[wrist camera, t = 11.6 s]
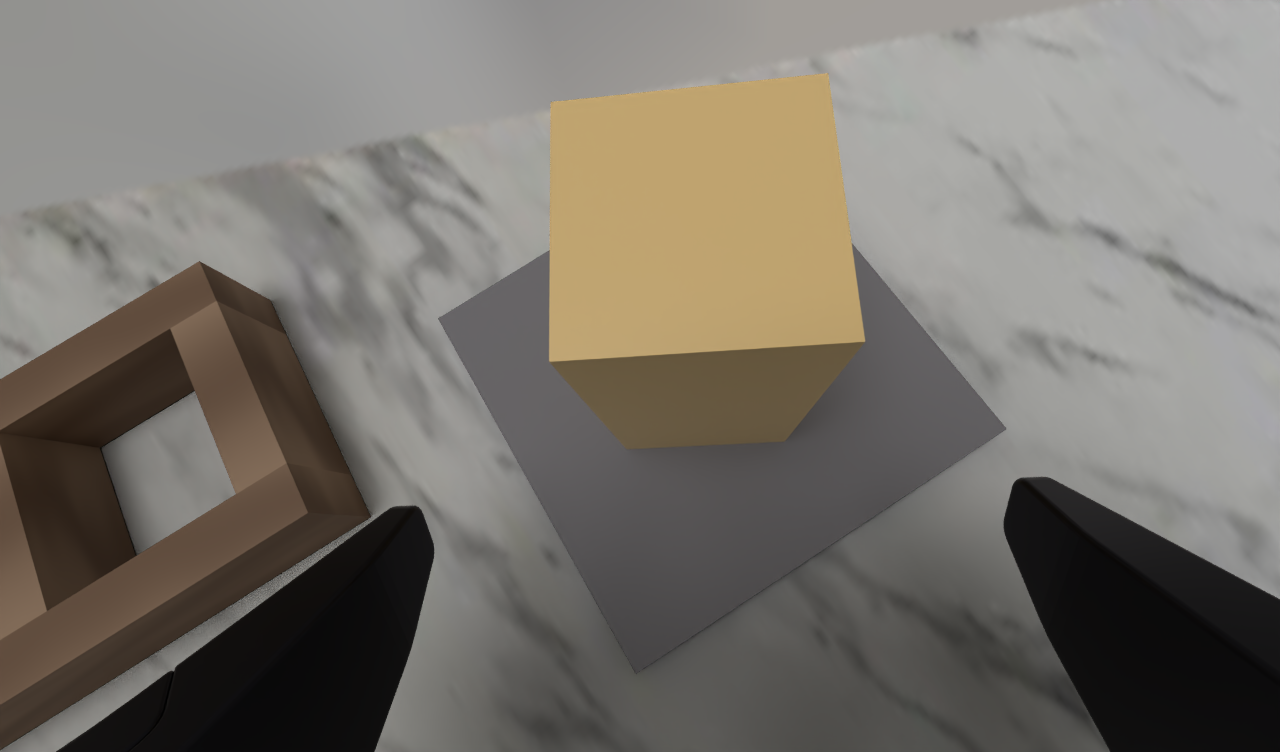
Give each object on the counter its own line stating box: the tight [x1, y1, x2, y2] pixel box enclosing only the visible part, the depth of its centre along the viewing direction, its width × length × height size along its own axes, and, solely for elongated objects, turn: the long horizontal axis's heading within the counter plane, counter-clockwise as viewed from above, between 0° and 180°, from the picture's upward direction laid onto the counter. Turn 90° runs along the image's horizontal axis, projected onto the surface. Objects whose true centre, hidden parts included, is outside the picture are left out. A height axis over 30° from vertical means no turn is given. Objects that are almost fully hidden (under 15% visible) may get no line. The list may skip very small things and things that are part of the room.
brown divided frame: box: [0, 261, 371, 750], centre depth 18 cm, size 8×18×3 cm, turn 122°
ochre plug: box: [549, 73, 865, 449], centre depth 14 cm, size 4×4×9 cm
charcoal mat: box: [438, 244, 1006, 674], centre depth 18 cm, size 12×12×1 cm
